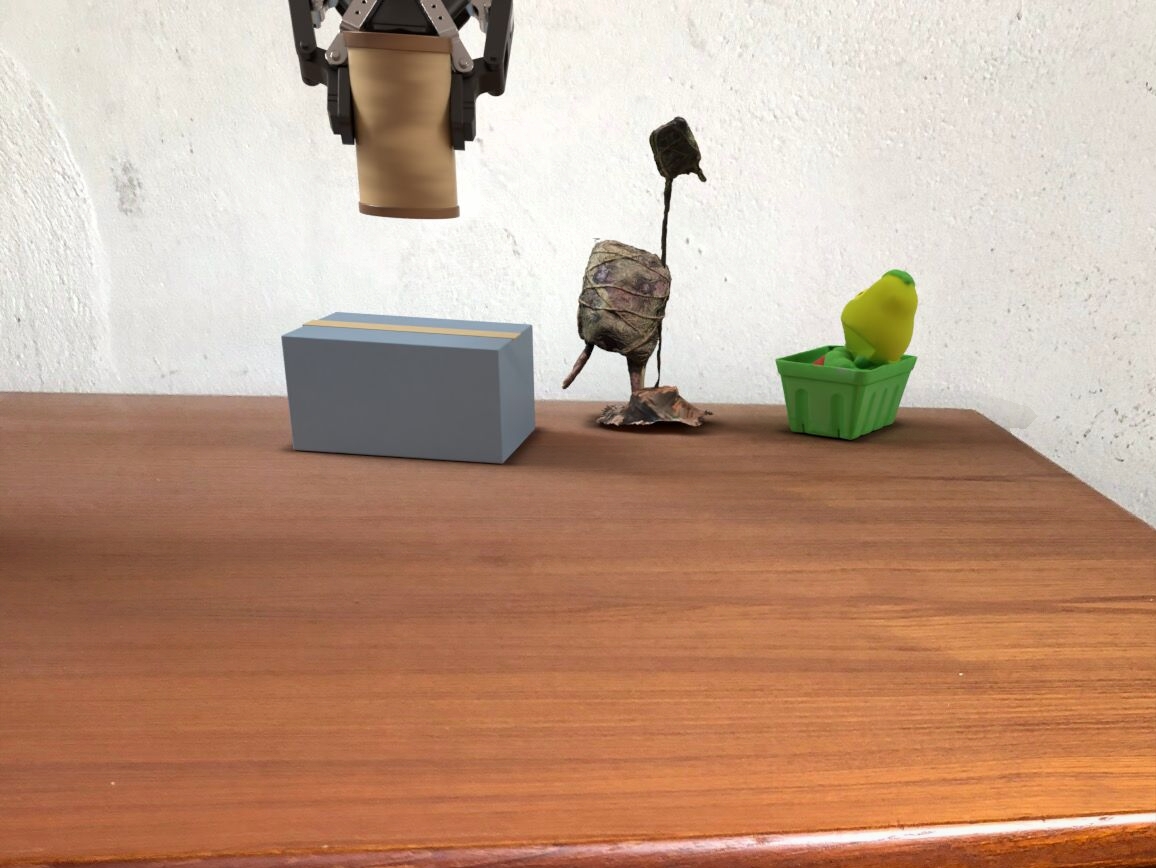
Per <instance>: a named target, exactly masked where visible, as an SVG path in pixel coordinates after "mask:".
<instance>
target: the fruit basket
mask: <svg viewBox="0 0 1156 868" xmlns="http://www.w3.org/2000/svg"><path fill="white" fill-rule="evenodd" d="M918 305H919V296H918V293H917V290H916V281H915V280H914V278H913V277H912V275H911V274H910V273H908V272H907V271H905V270H901V269H898V268H894V269H891V270H888V271H886V272H885V273H884V274H883V275H882V276H881V278H879V279H878V280H877V281H875V282H874V283H873V284H871V285H870V286H869V288H865V289H864V290H862V291H860V292H858V293H857V294H856V295H855V296H854V298H853V299H851V300H849V301H848V302H847V303H846V304H845V306H844V307H843V309H842V312H841V315H840V321H841V326H842V329H843V335H844V341H845V343H844V345H835V344H828V345H827V344H826V345H823V346H820V347H816V348H811V349H809V350H804V351H799V352H797V353H794V354H789V355H786V356H783V357H778V358H775V365H776V368H777V369H776V370H777V373H778V375H779V376H780V380H781V381H780V382H781V386H782V390H783V391H782V392H783V396H784V402H785V407H786V412H787V418H788V423H789V429H790V431H791V432H794V433H805V434H808V435H815V436H820V437H821V436H822V437H828V438H836V439H838V438H840V439H845V440H849V441H852V440H854V439H857V438H859V437H860V436H865V435H867V434H870V433H871V432H873V431H874V432H875V431H878V430H880V429H882V428H884V427H887V426H890V425H892V424H893V423H894V422H895V419H896V416H897V413H898V410H899V407H900V405H901V402H902V399H903V395H904V393H905V389H906V387H907V385H908V381H909V378H910V375H911V373H912V371H913V370H914V368H915V366H916V363H917V360H918V358H919V356H917V355H910V354H906V352H907V350H908V349H909V346H910V344H911V343H912V338H913V334H914V329H915V328H914V326H915V316H916V313H917V309H918Z"/></svg>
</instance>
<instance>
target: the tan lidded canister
mask: <svg viewBox="0 0 1156 868" xmlns="http://www.w3.org/2000/svg"><path fill="white" fill-rule="evenodd" d="M343 42H344V46H345V47H347V49H348V61H349V73H350V84H351V97H352V109H353V121H354V133H355V145H354V147H355V158H356V170H357V181H358V183H357V184H358V193H359V201H358V212H359V213H360V214H362V215H365V216H371V217H379V218H389V219H402V220H403V219H406V220H452V219H457V218H460V216H461V210H460V205H459V202H458V200H459V199H458V198H459V197H458V183H457V182H458V181H457V163H456V161H457V159H456V150H454V149H453V139H452V128H451V61H450V53H453V39H452V38H450V37H437V36H422V35H407V34H391V33H375V32H359V31H343Z"/></svg>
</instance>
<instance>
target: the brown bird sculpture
mask: <svg viewBox="0 0 1156 868" xmlns="http://www.w3.org/2000/svg"><path fill="white" fill-rule="evenodd" d="M648 142H649V146H650V149H651V152H652V156H653V161H654V162H655V163H654V164H655V165H656V170H657V171H658V174H659V176H660V177H663V178H664V181H665V182H664V189H663V193H662V194H663V204H664V205H663V206H664V209H663V218H662V223H661V236H660V245H661V246H660V250H661V255H660V256H659V255H658V254H657V253H652V252H650V251H648V250H646V249H642V248H638V247H636V246H633V245H630V244H627V243H623V242H621V241H618V240H616V239H604V240H601V238H599V237H598V238H597V237H596V238H593V237H592V239H594V240H596V241H597V242H595V243H594V246H593V247H592V249H591V252H590V255H589V257H588V261H587V265H586V267H585V269H584V275H583V277H582V284H581V285H582V286H581V292H580V293H579V296H578V299H577V301H578V305H577V311H576V327H577V334H578V337H579V339H580V340H582V341H584V345H585V346H584V349H583V350H582V352H581V353H580V354H579V356H578V358H577V359H576V361H575V363H574V364H573V366H572V369H571V371H570V372H569V373H568V375H567V376H566V377H565V378H564V380H563V381H562V385H561V389H562V390H567V389H568V388H570V386H571V385H572V384H573V382H574V381H575V380H576V378H577V376H579V374H580V373H581V372H582V370H583V369H584V367H585V366H586V365H587V363H588V360H589V359H591V355H592V353H593V351H594V349H595V347H597V348H599V349H600V350H603V351H604V352H608V353H616V354H619V355H621V357H622V356H623V357H625V358H626V365H627V371H628V374H629V380H630V381H629V382H630V390H631V394H630V396H629V400H628V402H627V404H621V403H620V402H618V404H614V405H607V404H606V407H604V408H603V409H601V411H602V412H600V416H599V418H598V419H597V420H596V421H595V423H596V424H597V423H598V424H602V423H603V424H604V425H610V424H614V425H616V426H624V427H626V426H629V425H635V424H636V425H642V426H644V425H651V424H654V423H656V422H658V421H659V422H660V421H661V422H663V421H664V422H678V423H679V422H680V423H683V424H686V425H689V426H693V427H699V426H700V425H702V424H703V422H701V421H706V419H705V418H704V417H706V416H714V415H715V413H714V412H713V411H708V409H706V410H705V411H704V410H702V409H700V408H698V407H696V406H694V405H693V404H691V403H690V402H689V401H687V400H686V399H685V398H684V397H683V396H681V395H680V391H679V388H678V387H677V386H676V385H675V386H674V385H673V386H671V385H662V386H660V380H661V366H662V365H661V364H662V360H661V353H662V341H663V337H662V336H663V335H662V333H663V320H664V319H665V317H666V308H667V304H668V302H669V301H670V295H671V288H672V287H671V286H672V282H673V281H672V280H673V278H672V275H671V271H670V267H669V265H668V264H667V237H668V222H669V221H668V219H669V212H670V210H671V200H672V191H673V182H674V179H677V178H678V176H682V175H687V176H690V174H694V175H697V177H698V178H697V179H698V180H699V181H700V182H701V183H706V182H707V180H708V179H707V177H706V176H705V174H704V173H703V169H702V168H701V166H700V162H701V161H702V155H701V150H700V147H699V144H698V142H697V139H696V138H695V135H694V133H693V131H692V129H691V127H690V125H689V123H688V121H687V120H686V119H685V118H684V117H682V116H680V115H678V116H675V117H674V118H673V119H671V120H670V121H668V122H666V123H665V124H661V125H659V126H658V127H657V128H656V129H653V130H652V131H651V133H650V135H649V139H648ZM599 240H601V241H599ZM598 241H599V242H598ZM657 346H658V348H657ZM656 348H657V351H656V367H657V368H656V369H657V380H656V382H655V384H654V386H645V378H646V371H647V366H648V365H647V364H648V363H649V359H650V358H651V357H652V355H653V354H654V352H655V350H656Z"/></svg>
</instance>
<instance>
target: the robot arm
mask: <svg viewBox="0 0 1156 868" xmlns="http://www.w3.org/2000/svg"><path fill="white" fill-rule="evenodd" d="M287 2H288V9H289V15H290V22H291V23H290V24H291V29H292V37H293V43H294V48H295V54H296V55H297V58H298V63H299V64H298V65H299V72H300V77H301V80H302V82H303V84H304V85H306V86H308V87H317V86H319V85H320V84H321V85H323V86H325V87H326V110H327V116H328V121H329V125H330V129H331V131H332V134H333V135H336V136H340V139H341V144H342V146H343V145H344V146H355V133H354V121H353V109H352V97H351V84H350V73H349V61H348V49H347V47H345V46H344V42H343V31H359V32H375V33H391V34H407V35H422V36H437V37H450V38H452V39H453V53H450V61H451V128H452V139H453V149H454V150H455V151H463V152H465V151H466V142H474V140H475V138H476V136H477V107H476V106H477V99H478V98H479V96H482V95H483V94H488V95H490V96H492V97H501V96H503V95H504V93H505V91H506V87H507V86H506V85H507V78H508V73H509V66H510V58H511V52H512V44H513V37H514V32H515V31H514V30H515V18H514V17H515V15H514V0H287ZM333 8H334V9H335V10H336V12H337V13H338V15H339V16H340V17H341V18H340V21H339V26H338V27H339V28H338V32H337V34H336V36H335V37H334V38H333V40H332V42H331V43H330V45H329V47H328V48H327V49H325V48H322V47H319V46H318V44H317V43H318V42H317V37H316V36H317V35H316V30H318V29H319V30H320V29H321V28H322V23H323V22H324V21H325V19H326V14H327V12H328V10H329V9H333ZM471 18H474V19H476V20H477V21H478V25H479V30H480V31H481V33H483V34H485V40H484V41H485V42H484V48H483V54H482V56H480V57H476V58H473V59H472V57H471V55H470V54H469V52H468V50H467V48H466V46H465V44H464V43H463V41H462V39H461V36H460V33H459V31H461V29H463V28H464V27H465V26H466V24H467V23H468V22H469V20H470V19H471Z"/></svg>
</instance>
